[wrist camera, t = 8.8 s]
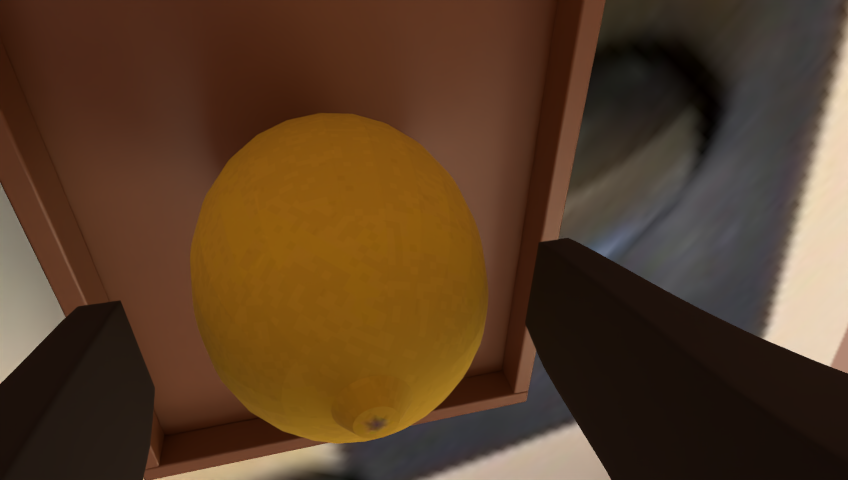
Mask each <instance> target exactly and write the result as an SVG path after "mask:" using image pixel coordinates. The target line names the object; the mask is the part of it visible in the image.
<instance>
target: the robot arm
mask: <svg viewBox="0 0 848 480" xmlns="http://www.w3.org/2000/svg"><path fill="white" fill-rule="evenodd" d="M525 325H526V327H527V329H528V332H529V334H530V337H531V339H532V341H533V344H534V346H535V349H536V351H537V353H538V355H539V357H540V360H541V362H542V364H543V366H544V368H545V370H546V372H547V373H548V375H549V377H550V379H551V380H552V382H553V384H554V385H555V387H556V389H557V390H558V392H559V394H560V395H561V397H562V399H563V400H564V402H565V404H566V405H567V407H568V409H569V410H570V412H571V414H572V415H573V417H574V418H575V420H576V422H577V423H578V425H579V427H580V428H581V430H582V432H583V433H584V435H585V437H586V438H587V440H588V441H589V443H590V445H591V446H592V448H593V450H594V451H595V453H596V455H597V456H598V458H599V459H600V461H601V463H602V464H603V466H604V468H605V469H606V471H607V473H608V475H609V476H610V478H611V480H848V373H845V372H842V371H840V370H837V369H834V368H832V367H829V366H827V365H824V364H821V363H819V362H816V361H814V360H811V359H809V358H807V357H804V356H802V355H799V354H797V353H795V352H792V351H790V350H788V349H785V348H783V347H780V346H778V345H776V344H773V343H771V342H769V341H766V340H764V339H762V338H759V337H757V336H755V335H753V334H751V333H748V332H746V331H744V330H742V329H740V328H738V327H736V326H734V325H732V324H730V323H728V322H726V321H724V320H722V319H719V318H717V317H715V316H713V315H711V314H709V313H707V312H705V311H703V310H701V309H699V308H697V307H695V306H694V305H692V304H690V303H688V302H686V301H684V300H682V299H680V298H678V297H676V296H675V295H673V294H671V293H669V292H667V291H665V290H663V289H662V288H660V287H658V286H656V285H654V284H652V283H651V282H649V281H647V280H645V279H643V278H642V277H640V276H638V275H636V274H635V273H633V272H631V271H629V270H627V269H626V268H624V267H622V266H620V265H618V264H617V263H615V262H613V261H611V260H610V259H608V258H606V257H604V256H602V255H600V254H599V253H597V252H595V251H593V250H591V249H589V248H588V247H586V246H584V245H582V244H580V243H578V242H576V241H573V240H571V239H569V238H565V239H557V240H550V241H543V242H539V243H538V249H537V255H536V261H535V267H534V273H533V279H532V284H531V290H530V296H529V302H528V308H527V314H526V319H525ZM154 397H155V386H154V384H153V381H152V379H151V376H150V374H149V371H148V369H147V366H146V364H145V361H144V359H143V356H142V353H141V351H140V348H139V346H138V343H137V341H136V338H135V336H134V333H133V331H132V328H131V326H130V323H129V321H128V318H127V316H126V313H125V310H124V308H123V305H122V303H121V300H119V301H112V302H105V303H98V304H91V305H83V306H78V307H76V308H75V309H74V310H73V311H72V312H71V313H70V314H69V315H68V316H67V317H66V318H65V319H64V320H63V321H62V322H61V323H60V324H59V325H58V326H57V327H56V328H55V329H54V330H53V331H52V332H51V333H50V334H49V335H48V336H47V337H46V338H45V339H44V340H43V341H42V342H41V343H40V344H39V345H38V346H37V347H36V348H35V349H34V350H33V352H32V353H31V354H30V355H29V356H28V357H27V358H26V359H25V360H24V361H23V362H22V363H21V364H20V365H19V366H18V367H17V368H16V369H15V370H14V371H13V372H12V373H11V374H10V375H9V376H8V377H7V378H6V379H5V380H4V381H3V382H2V383H1V384H0V480H143V477H144V473H145V468H146V464H147V459H148V454H149V449H150V442H151V433H152V423H153V410H154Z"/></svg>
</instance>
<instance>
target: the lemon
mask: <svg viewBox="0 0 848 480" xmlns="http://www.w3.org/2000/svg"><path fill="white" fill-rule="evenodd" d="M190 269H191V284H192V299H193V307H194V314H195V318H196V322H197V326H198V330H199V332H200V335H201V338H202V340H203V343H204V345H205V348H206V350H207V352H208V354H209V357H210V359H211V361H212V364H213V366H214V368H215V370H216V372H217V374H218V375H219V377H220V379H221V381H222V382H223V383H224V384H225V385H226V387H227V388H228V389H229V390H230V391H231V392H232V393H233V394H234V395H235V396H236V397H237V399H238V400H239V401H240V402H241V403H242V404H243V405H244V406H245V407H246V408H247V409H248V410H249V411H250V412H251V413H253V414H255V415H256V416H258V417H260V418H261V419H263V420H265V421H266V422H268V423H270V424H271V425H273V426H275V427H277V428H278V429H280V430H282V431H284V432H287V433H291V434H294V435H297V436H300V437H304V438H307V439H310V440H314V441H320V442H330V443H350V442H364V441H368V440H373V439H377V438H382V437H385V436H387V435H390V434H393V433H395V432H398V431H400V430H403V429H405V428H407V427H408V426H410V425H412V424H413V423H415V422H417V421H419V420H420V419H422V418H424V417H425V416H426V415H428V414H429V413H430V412H431V411H432V410H434V409H435V408H436V407H437V406H438V405H440V404H441V403H442V402H443V401H444V400H445V399H446V398H447V397H448V396H449V394H450V393H451V392H452V391H453V390H454V388H455V387H456V386H457V385H458V383H459V382H460V381H461V380H462V378H463V377H464V375H465V374H466V372H467V370H468V369H469V367H470V365H471V363H472V361H473V359H474V356H475V354H476V352H477V350H478V348H479V346H480V343H481V340H482V336H483V333H484V327H485V321H486V315H487V308H488V294H489V293H488V281H487V274H486V267H485V260H484V254H483V248H482V243H481V238H480V235H479V231H478V228H477V225H476V223H475V220H474V218H473V216H472V214H471V212H470V210H469V208H468V206H467V204H466V202H465V200H464V198H463V196H462V194H461V192H460V190H459V188H458V186H457V184H456V182H455V181H454V179H453V178H452V177H451V175H450V174H449V173H448V172H447V171H446V170H445V169H444V168H443V167H442V166H441V165H440V163H439V162H438V161H437V160H436V159H435V158H434V157H433V156H432V155H431V154H430V153H429V152H428V151H427V150H426V149H425V148H424V147H423V146H422V145H421V144H419V143H418V142H417V141H415V140H414V139H412V138H410V137H409V136H407V135H405V134H403V133H402V132H400V131H398V130H397V129H395V128H393V127H392V126H390V125H388V124H386V123H383V122H380V121H376V120H373V119H369V118H366V117H362V116H359V115H355V114H340V113H318V114H313V115H308V116H304V117H299V118H294V119H290V120H286V121H284V122H282V123H280V124H278V125H276V126H274V127H272V128H270V129H268V130H266V131H264V132H262V133H260V134H258V135H256V136H255V137H254V138H253V139H252V140H251V141H250V142H248V143H247V144H246V145H245V146H244V147H243V148H242V149H240V150H239V151H238V152H237V153H236V154H235V155H234V156H233V157H232V158H230V159H229V160H228V162H227V163H226V165H225V167H224V168H223V170H222V171H221V173H220V174H219V176H218V177H217V179H216V180H215V182H214V183H213V185H212V187H211V188H210V190H209V191H208V193H207V194H206V196H205V199H204V201H203V204H202V207H201V211H200V214H199V218H198V221H197V225H196V228H195V232H194V236H193V240H192V244H191V252H190Z"/></svg>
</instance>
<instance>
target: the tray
mask: <svg viewBox="0 0 848 480" xmlns="http://www.w3.org/2000/svg"><path fill="white" fill-rule="evenodd" d="M604 5H605V0H0V182H1V185H2V187H3V189H4V191H5V193H6V195H7V197H8V199H9V201H10V203H11V205H12V207H13V209H14V211H15V213H16V215H17V218H18V220H19V222H20V224H21V226H22V228H23V230H24V232H25V234H26V236H27V238H28V240H29V242H30V244H31V246H32V248H33V251H34V253H35V255H36V257H37V259H38V261H39V263H40V265H41V267H42V269H43V271H44V273H45V275H46V277H47V279H48V281H49V284H50V286H51V288H52V290H53V292H54V294H55V296H56V298H57V300H58V302H59V304H60V306H61V308H62V310H63V312H64V314H65V317H67V316H68V315H69V314H70V313H71V312H72V311H73V310H74V309H75V308H76V307H78V306H83V305H91V304H98V303H105V302H112V301H119V300H121V303H122V305H123V308H124V310H125V313H126V316H127V318H128V321H129V323H130V326H131V328H132V331H133V333H134V336H135V338H136V341H137V343H138V346H139V348H140V351H141V353H142V356H143V359H144V361H145V364H146V366H147V369H148V371H149V374H150V376H151V379H152V381H153V384H154V386H155V397H154V410H153V423H152V433H151V442H150V449H149V454H148V459H147V464H146V468H145V473H144V479H145V480H153V479H157V478H162V477H167V476H172V475H177V474H181V473H186V472H191V471H196V470H200V469H205V468H210V467H215V466H220V465H224V464H229V463H234V462H239V461H243V460H248V459H253V458H258V457H263V456H267V455H272V454H277V453H282V452H286V451H291V450H296V449H301V448H306V447H310V446H315V445H320V444H325V443H330V442H320V441H314V440H310V439H307V438H304V437H300V436H297V435H294V434H291V433H287V432H284V431H282V430H280V429H278V428H277V427H275V426H273V425H271V424H270V423H268V422H266V421H265V420H263V419H261V418H260V417H258V416H256V415H255V414H253V413H251V412H250V411H249V410H248V409H247V408H246V407H245V406H244V405H243V404H242V403H241V402H240V401H239V400H238V399H237V397H236V396H235V395H234V394H233V393H232V392H231V391H230V390H229V389H228V388H227V387H226V385H225V384H224V383H223V382H222V381H221V379H220V377H219V375H218V374H217V372H216V370H215V368H214V366H213V364H212V361H211V359H210V357H209V354H208V352H207V350H206V348H205V345H204V343H203V340H202V338H201V335H200V332H199V330H198V326H197V322H196V318H195V314H194V307H193V299H192V284H191V269H190V252H191V244H192V240H193V236H194V232H195V228H196V225H197V221H198V218H199V214H200V211H201V207H202V204H203V201H204V199H205V196H206V194H207V193H208V191H209V190H210V188H211V187H212V185H213V183H214V182H215V180H216V179H217V177H218V176H219V174H220V173H221V171H222V170H223V168H224V167H225V165H226V163H227V162H228V160H229V159H230V158H232V157H233V156H234V155H235V154H236V153H237V152H238V151H239V150H240V149H242V148H243V147H244V146H245V145H246V144H247V143H248V142H250V141H251V140H252V139H253V138H254V137H255V136H256V135H258V134H260V133H262V132H264V131H266V130H268V129H270V128H272V127H274V126H276V125H278V124H280V123H282V122H284V121H286V120H290V119H294V118H299V117H304V116H308V115H313V114H318V113H340V114H355V115H359V116H362V117H366V118H369V119H373V120H376V121H380V122H383V123H386V124H388V125H390V126H392V127H393V128H395V129H397V130H398V131H400V132H402V133H403V134H405V135H407V136H409V137H410V138H412V139H414V140H415V141H417V142H418V143H419V144H421V145H422V146H423V147H424V148H425V149H426V150H427V151H428V152H429V153H430V154H431V155H432V156H433V157H434V158H435V159H436V160H437V161H438V162H439V163H440V165H441V166H442V167H443V168H444V169H445V170H446V171H447V172H448V173H449V174H450V175H451V177H452V178H453V179H454V181H455V182H456V184H457V186H458V188H459V190H460V192H461V194H462V196H463V198H464V200H465V202H466V204H467V206H468V208H469V210H470V212H471V214H472V216H473V218H474V220H475V223H476V225H477V228H478V231H479V235H480V238H481V243H482V248H483V254H484V260H485V267H486V274H487V281H488V293H489V294H488V308H487V315H486V321H485V327H484V333H483V336H482V340H481V343H480V346H479V348H478V350H477V352H476V354H475V356H474V359H473V361H472V363H471V365H470V367H469V369H468V370H467V372H466V374H465V375H464V377H463V378H462V380H461V381H460V382H459V383H458V385H457V386H456V387H455V388H454V390H453V391H452V392H451V393H450V394H449V396H448V397H447V398H446V399H445V400H444V401H443V402H442V403H441V404H440V405H438V406H437V407H436V408H435V409H434V410H432V411H431V412H430V413H429V414H428V415H426V416H425V417H424V418H422V419H420V420H419V421H417V422H415V423H413V424H412V425H416V424H420V423H425V422H430V421H435V420H439V419H444V418H449V417H454V416H459V415H463V414H468V413H473V412H478V411H482V410H487V409H492V408H497V407H502V406H506V405H511V404H516V403H521V402H525V401H526V399H527V394H528V389H529V384H530V379H531V374H532V369H533V364H534V359H535V354H536V349H535V346H534V344H533V341H532V339H531V337H530V334H529V332H528V329H527V327H526V325H525V319H526V314H527V308H528V302H529V296H530V290H531V284H532V279H533V273H534V267H535V261H536V255H537V249H538V243H539V242H543V241H550V240H557V239H558V237H559V232H560V227H561V222H562V217H563V212H564V207H565V202H566V197H567V192H568V187H569V182H570V176H571V171H572V166H573V161H574V156H575V151H576V146H577V141H578V136H579V131H580V126H581V121H582V116H583V111H584V106H585V101H586V96H587V91H588V85H589V80H590V75H591V70H592V65H593V60H594V55H595V50H596V45H597V40H598V35H599V30H600V25H601V20H602V15H603V10H604ZM410 426H411V425H410Z"/></svg>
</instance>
